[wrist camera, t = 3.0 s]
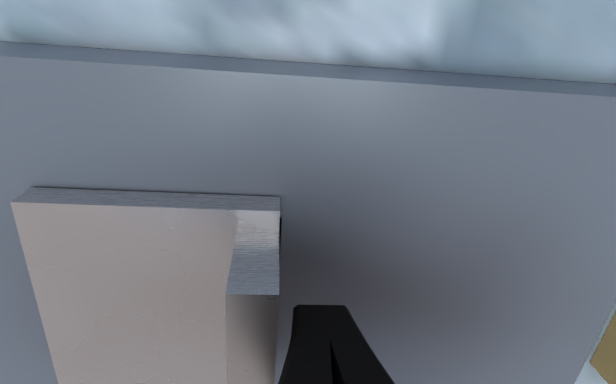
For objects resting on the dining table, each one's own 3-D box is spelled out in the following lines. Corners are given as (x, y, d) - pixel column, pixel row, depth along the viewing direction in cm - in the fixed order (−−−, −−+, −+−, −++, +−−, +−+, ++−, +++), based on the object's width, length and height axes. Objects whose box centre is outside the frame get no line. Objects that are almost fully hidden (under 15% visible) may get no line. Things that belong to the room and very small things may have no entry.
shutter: (271, 366, 13) (269, 474, 10) (73, 367, 12) (8, 480, 9) (279, 196, 10) (280, 272, 7) (30, 187, 10) (-77, 265, 7)
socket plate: (505, 399, 18) (537, 455, 16) (-13, 403, 16) (-61, 469, 14) (634, 85, 12) (714, 103, 10) (-156, 30, 10) (-279, 37, 8)
